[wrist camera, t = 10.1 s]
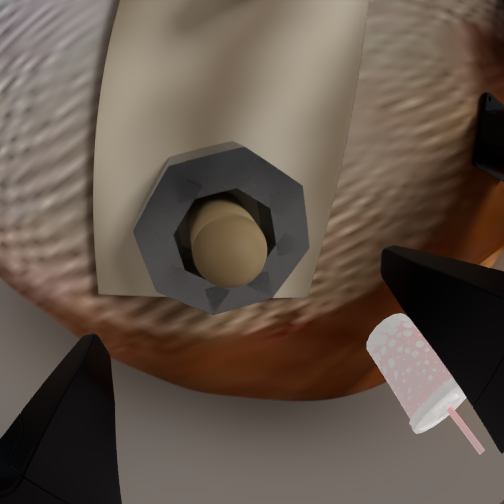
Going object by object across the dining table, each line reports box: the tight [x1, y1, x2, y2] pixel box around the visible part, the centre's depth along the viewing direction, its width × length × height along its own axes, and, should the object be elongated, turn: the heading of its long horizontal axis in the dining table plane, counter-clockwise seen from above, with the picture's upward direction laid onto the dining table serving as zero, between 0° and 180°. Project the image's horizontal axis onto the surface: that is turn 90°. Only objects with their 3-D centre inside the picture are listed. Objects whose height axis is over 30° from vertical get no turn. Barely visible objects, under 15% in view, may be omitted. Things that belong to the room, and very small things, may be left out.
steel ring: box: [133, 141, 310, 315], centre depth 13 cm, size 7×7×2 cm
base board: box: [93, 0, 369, 298], centre depth 10 cm, size 12×22×6 cm, turn 171°
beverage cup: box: [367, 313, 485, 454], centre depth 18 cm, size 6×6×14 cm
